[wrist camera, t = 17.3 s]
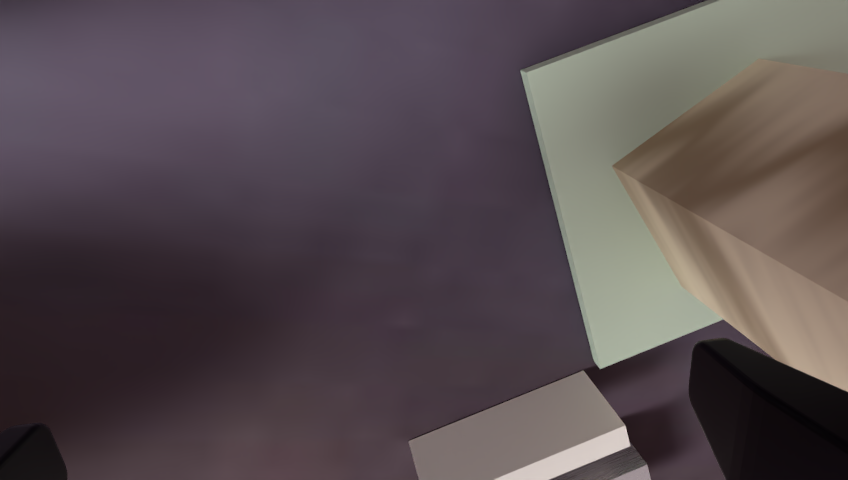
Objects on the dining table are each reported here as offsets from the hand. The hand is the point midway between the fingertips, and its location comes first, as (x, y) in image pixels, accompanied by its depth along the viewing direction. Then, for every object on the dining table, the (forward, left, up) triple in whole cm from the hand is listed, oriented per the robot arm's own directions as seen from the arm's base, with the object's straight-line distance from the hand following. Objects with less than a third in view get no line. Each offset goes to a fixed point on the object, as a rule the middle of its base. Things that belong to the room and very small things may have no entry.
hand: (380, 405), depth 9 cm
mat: (+13, -5, -13) cm, 19 cm away
